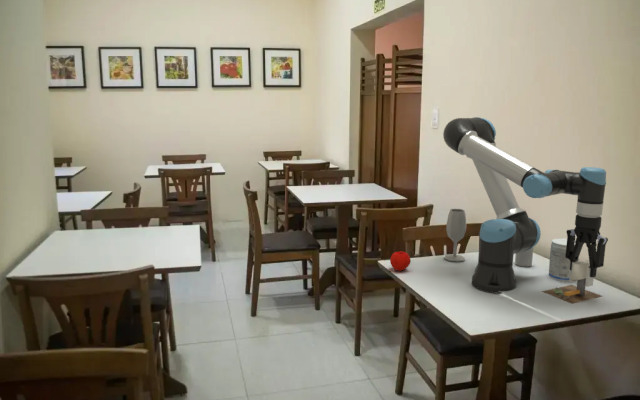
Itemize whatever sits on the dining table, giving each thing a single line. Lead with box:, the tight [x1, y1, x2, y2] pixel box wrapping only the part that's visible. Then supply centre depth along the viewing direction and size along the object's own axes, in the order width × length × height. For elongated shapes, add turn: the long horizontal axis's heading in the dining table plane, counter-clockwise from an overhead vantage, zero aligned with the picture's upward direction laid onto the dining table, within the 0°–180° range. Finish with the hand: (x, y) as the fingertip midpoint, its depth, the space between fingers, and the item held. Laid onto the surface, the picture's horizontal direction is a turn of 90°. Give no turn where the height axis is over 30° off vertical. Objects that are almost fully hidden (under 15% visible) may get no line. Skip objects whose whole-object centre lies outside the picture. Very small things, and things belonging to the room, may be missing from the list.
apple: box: [389, 251, 412, 272], centre depth 199 cm, size 8×8×7 cm
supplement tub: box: [548, 238, 580, 283], centre depth 189 cm, size 10×10×15 cm
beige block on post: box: [564, 259, 590, 296], centre depth 171 cm, size 12×3×11 cm, turn 117°
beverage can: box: [514, 247, 534, 268], centre depth 207 cm, size 6×6×12 cm
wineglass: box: [443, 208, 467, 263], centre depth 213 cm, size 9×9×21 cm
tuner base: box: [541, 284, 603, 305], centre depth 174 cm, size 15×12×2 cm
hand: (581, 282), depth 172 cm, fingers open, 5 cm apart
